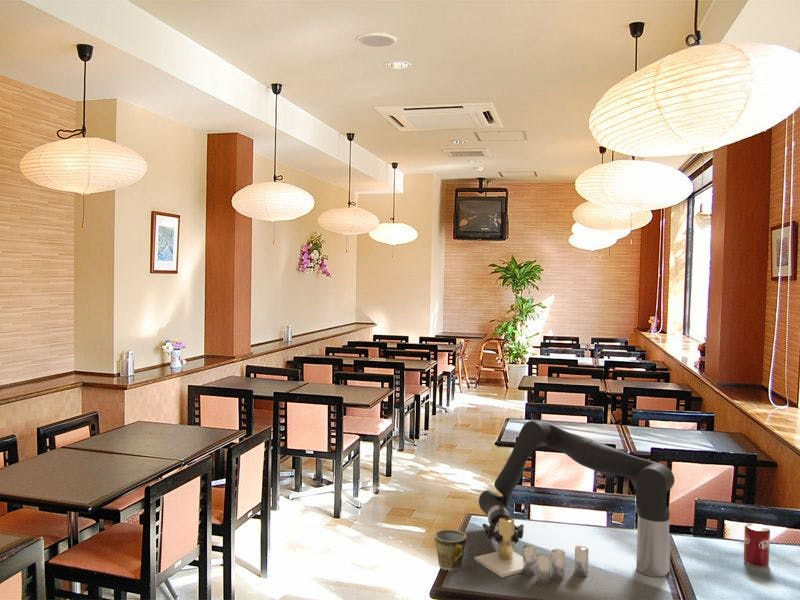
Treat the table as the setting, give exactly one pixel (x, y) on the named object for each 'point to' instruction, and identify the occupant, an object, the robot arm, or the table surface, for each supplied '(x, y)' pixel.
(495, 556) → the pad
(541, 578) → the spacers
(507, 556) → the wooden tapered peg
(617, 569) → the table surface
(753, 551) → the soda can
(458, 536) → the ceramic cup
